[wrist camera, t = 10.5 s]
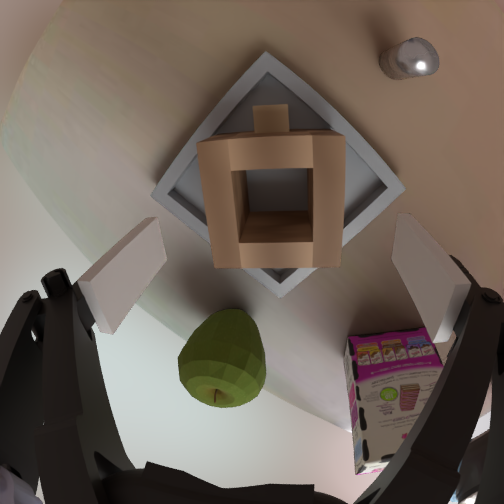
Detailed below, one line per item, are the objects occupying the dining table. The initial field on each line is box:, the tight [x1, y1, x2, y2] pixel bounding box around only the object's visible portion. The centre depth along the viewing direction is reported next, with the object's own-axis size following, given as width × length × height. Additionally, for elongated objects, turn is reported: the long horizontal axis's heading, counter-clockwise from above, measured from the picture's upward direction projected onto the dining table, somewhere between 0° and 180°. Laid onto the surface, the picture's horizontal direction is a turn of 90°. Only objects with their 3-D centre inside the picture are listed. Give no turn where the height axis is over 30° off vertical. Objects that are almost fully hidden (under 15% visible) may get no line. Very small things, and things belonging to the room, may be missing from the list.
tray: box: [150, 51, 406, 298], centre depth 22 cm, size 15×15×2 cm
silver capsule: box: [379, 37, 439, 80], centre depth 14 cm, size 3×3×6 cm
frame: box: [196, 104, 346, 268], centre depth 20 cm, size 9×11×6 cm
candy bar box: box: [344, 327, 444, 475], centre depth 24 cm, size 11×5×16 cm, turn 97°
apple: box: [178, 309, 266, 408], centre depth 26 cm, size 9×8×12 cm
